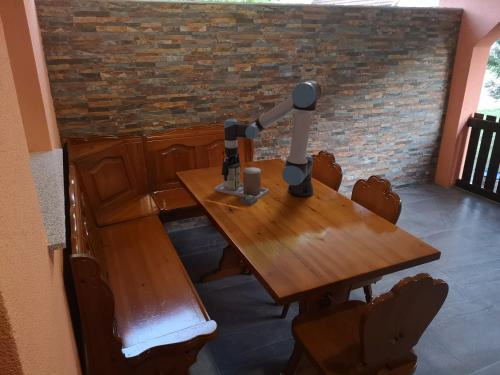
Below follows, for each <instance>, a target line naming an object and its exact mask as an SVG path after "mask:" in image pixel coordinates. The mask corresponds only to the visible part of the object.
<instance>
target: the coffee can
mask: <svg viewBox="0 0 500 375" xmlns="http://www.w3.org/2000/svg"><path fill="white" fill-rule="evenodd" d="M221 165H222V166H223V163H222V164H221ZM240 165H241V162H240V163H238V162H237V163H232V164H231V165H230V166H227V168H229V173H228V175H229V186H224V175H222V183H223V187H224V188H225V189H230V190H232V189H238V188H240V183H241V168H240Z"/></svg>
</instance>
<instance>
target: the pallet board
mask: <svg viewBox="0 0 500 375" xmlns="http://www.w3.org/2000/svg"><path fill="white" fill-rule="evenodd" d="M213 192H214V193H215V192H221V193H223V194H227V195H232V196H233V195H234V196H237V197H241V198H243V197H245V195H247V194H243V182H242V183H241V182H240V188H238V189H232V190H230V189H225V188H224V187H223V182H222V183H221V184H219V185H217V186H215V187H213ZM268 193H270V188H265V187H261V189H260V194H259V195H258V196H253V197H257V198H258V200H259V199H261V198H262V197H264V196H265V195H267V194H268Z"/></svg>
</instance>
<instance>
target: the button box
mask: <svg viewBox="0 0 500 375" xmlns="http://www.w3.org/2000/svg"><path fill="white" fill-rule="evenodd" d="M258 200H259V199H258V198H257V197H253V199H252V200H251V201H249V200H245V197H241V198H239V202H240V204H244V205H247V206H253V205H254V204H255V203H257V202H258Z"/></svg>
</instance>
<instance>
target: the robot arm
mask: <svg viewBox="0 0 500 375" xmlns="http://www.w3.org/2000/svg"><path fill="white" fill-rule="evenodd" d="M322 93H323V91H322V87H321V85H320V84H319V82H318V81H316V80H307V81H302V82H299V83H298V84H296V85H295V86H294V87H293V89H292V92H291V96H289V97H288V98H286V99H285V100H284V101H283V100H282V102H281V103H279V104H277V105H276V106H275V107H273V108H271V109H270V110H269V111H266V112H265V113H264V114H262V115H260V116H259V117H258V118H256V119H254V120H253V121H250V122H249V123H245V124H243V123H238V120H237V119H235V118H231V119H230V118H229V119H226V120H224V124H223V132H224V133H223V134H224V137H223V139H224V154H225V155H226V157H223V158H222V164H223V165H222V168H221V176H223V175H224V186H229V175H228V173H229V168H227V166H230V165H231V164H232V163H237V162H238V163H240V169H241V168H242V166H241V160H240V154H239V152H238V150H239V149H238V142H239V140H238V138H241V139H249V140H251V139H252V140H255V139H257V138H258V136H259V134H260V133H262V132H263V131H264V130H265V129H267V128H269V127H270V126H273V125H274V124H275V123H277V122H279V121H281V120H282V119H284V118H285V117H287V116H288V115H290V114H291V113H293V112H294V117H293V118H294V119H293V124H292V126H293V127H292V133H291V134H292V135H291V142H290V151H289V156H287V157H286V160H285V165H284V166H285V167H284V168H283V169H282V173H281V176H282V179H283V181H284V182H285V183H286V184H288V187H287V191H288V193H289V194H290V195H291V196H294V197H297V198H306V197H307V198H308V197H311V196H313V194H314V192H315V191H314V190H315V189H314V186H313V183H312V175H313V163H314V159H313V156H312V155H310V154H307V150H308V142H309V136H310V128H311V121H312V115H313V113H315V111H316V108H317V103H318V102H317V101H318V100H319V99H320V98H321V96H322Z"/></svg>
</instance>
